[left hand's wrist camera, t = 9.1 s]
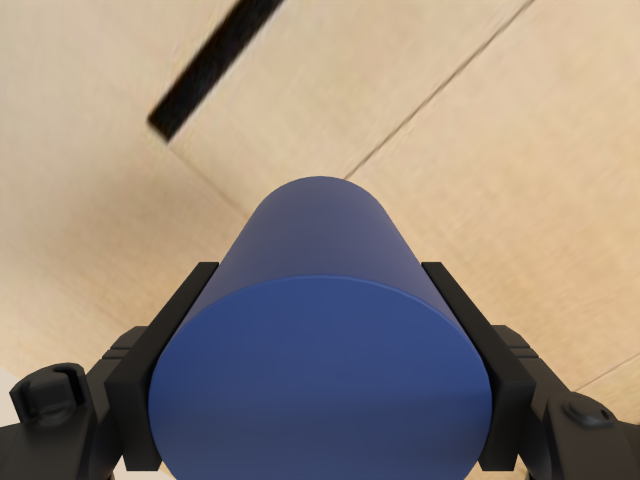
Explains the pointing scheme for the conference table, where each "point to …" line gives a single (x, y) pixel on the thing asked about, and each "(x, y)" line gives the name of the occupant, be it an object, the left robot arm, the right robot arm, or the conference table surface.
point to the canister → (320, 355)
